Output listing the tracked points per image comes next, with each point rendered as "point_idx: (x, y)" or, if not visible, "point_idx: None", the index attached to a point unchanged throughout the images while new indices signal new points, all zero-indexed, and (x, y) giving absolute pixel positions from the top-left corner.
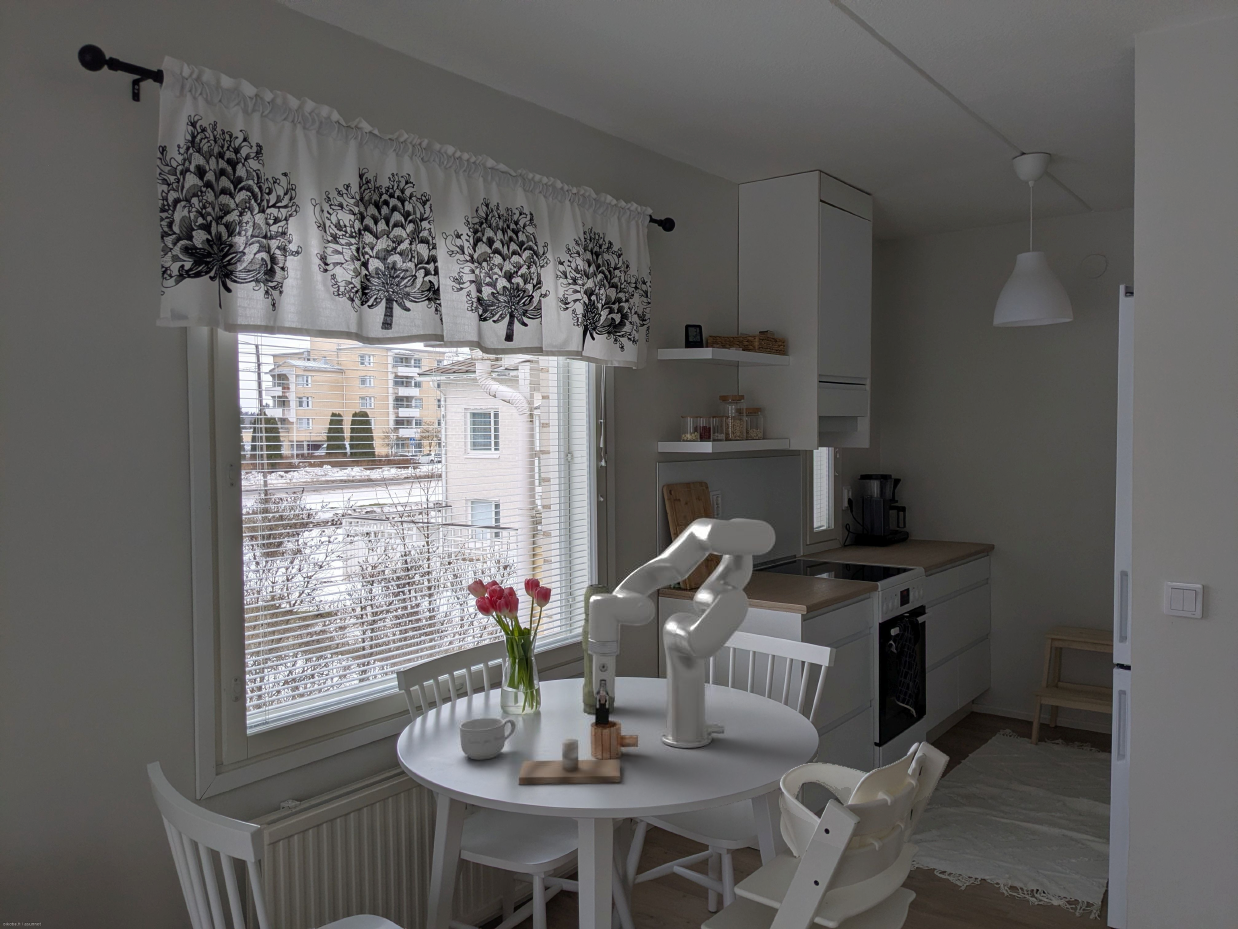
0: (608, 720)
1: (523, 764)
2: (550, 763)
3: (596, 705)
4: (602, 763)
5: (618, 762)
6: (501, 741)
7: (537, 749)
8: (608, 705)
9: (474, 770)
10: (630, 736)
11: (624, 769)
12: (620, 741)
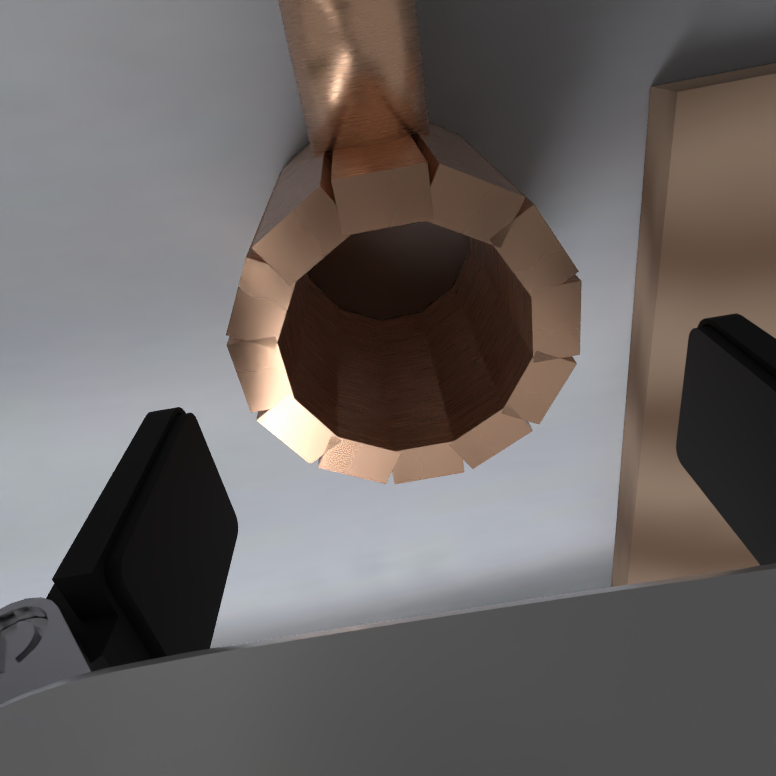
0: (761, 338)
1: None
2: (680, 512)
3: (222, 590)
4: (744, 222)
5: (752, 86)
6: None
7: (356, 599)
8: (147, 465)
9: None
10: (379, 16)
11: (729, 24)
12: (428, 134)
